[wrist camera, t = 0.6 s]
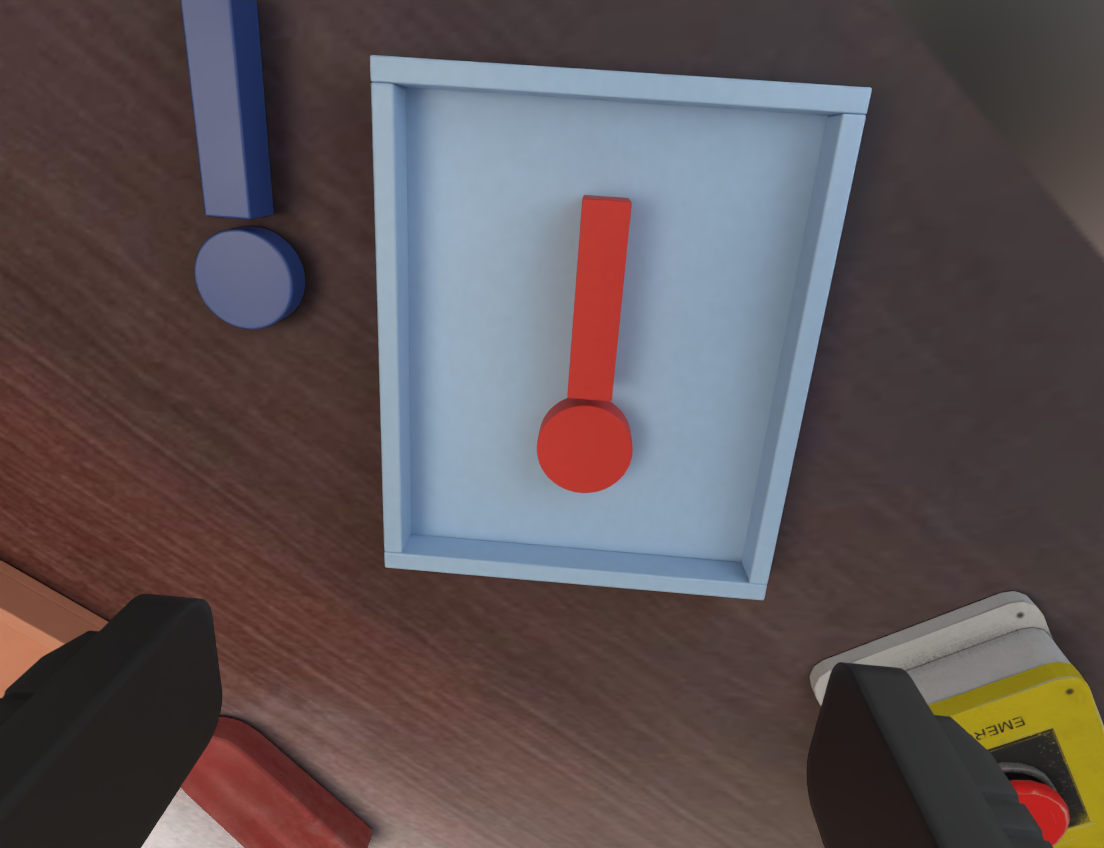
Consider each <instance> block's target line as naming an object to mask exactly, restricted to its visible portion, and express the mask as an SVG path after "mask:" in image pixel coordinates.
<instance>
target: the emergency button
mask: <svg viewBox="0 0 1104 848" xmlns="http://www.w3.org/2000/svg"><path fill="white" fill-rule="evenodd" d="M839 662H844V663H855V664H865V665H876V666H886V667H897V668H902V669H903V670H905V671H906V672H907V673H908V674H909V675H910V677H911V678H912V680H913V681H914V683H915V685H916V686H917V688H918V690H919V691H920V693H921V694H922V696H923V698H924V699H925V701H926V703H927V704H928V706H929V708H930V709H931V711H932V713H933V714H934V715H940V716H950V717H951V718H952V719H954V720H955V721H956V722H957V723H958V724H959V725H960V726H961V727H962V728H964V729H965V730H966V731H967V732H968V733H969V734H970V735H971V736H972V737H974V738H975V739H976V740H977V741H978V742H979V743H980V744H981V745H982V746H984V747H985V748H986V749H987V750H988V751H989V752H990V753H991V754H992V756H993V757H994V759H995V760H996V762H997V763H998V765H999V766H1000V768H1001V769H1002V771H1003V772H1004V774H1005V775H1006V777H1007V778H1008V780H1009V781H1010V783H1011V784H1012V786H1013V787H1014V789H1015V790H1016V792H1017V793H1018V795H1019V796H1018V799H1019V802H1020V803H1022V804H1025V805H1026V807H1027V808H1028V810H1029V811H1030V813H1031V814H1032V816H1033V817H1034V819H1035V820H1036V822H1037V823H1038V825H1039V827H1040V828H1041V830H1042V831H1043V833H1042V835H1043V839H1044V840H1045V841H1049V842H1050V843H1051V845H1052V846H1053V848H1104V725H1103V723H1102V720H1101V717H1100V715H1099V712H1098V709H1097V707H1096V704H1095V701H1094V699H1093V696H1092V693H1091V690H1090V688H1089V686H1088V684H1087V683H1086V682H1085V680H1084V679H1083V677H1082V676H1081V674H1080V673H1079V672H1078V670H1077V669H1076V668H1075V667H1074V666H1073V665H1072V664H1071V663H1070V662H1069V661H1068V659H1067V658H1066V657H1065V655H1064V654H1063V653H1062V651H1061V650H1060V649H1059V648H1058V646H1057V645H1056V644H1055V642H1054V641H1053V639H1052V636H1051V634H1050V631H1049V628H1048V626H1047V623H1046V621H1045V618H1044V615H1043V614H1042V613H1041V612H1040V610H1039V609H1038V608H1037V606H1036V605H1035V604H1034V603H1033V602H1032V601H1031V600H1030V599H1029V598H1028V596H1027V595H1024V594H1021V593H1019V592H1016V591H1010V592H1003V593H999V594H997V595H994V596H991V597H989V598H986V599H983V600H981V601H978V602H975V603H973V604H970V605H967V606H965V607H962V608H960V609H957V610H954V611H952V612H949V613H946V614H944V615H941V616H938V617H936V618H933V619H931V620H928V621H925V622H923V623H920V624H917V625H915V626H912V627H909V628H907V629H904V630H902V631H899V632H896V633H894V634H891V635H888V636H886V637H883V638H880V639H878V640H875V641H872V642H870V643H867V644H865V645H862V646H859V647H857V648H854V649H851V650H849V651H846V652H843V653H841V654H838V655H836V656H833V657H830V658H828V659H825V660H823V661H821V662H820V663H818V664H817V665H816V666H814V667H813V669H812V672H811V674H810V676H809V677H810V682H811V687H812V689H813V691H814V694H815V696H816V698H817V700H818V702H819V704H820V706H821V705H822V702H823V698H824V695H825V691H826V687H827V684H828V680H829V676H830V673H831V671H832V669H833V667H834V666H835V665H836V664H837V663H839Z"/></svg>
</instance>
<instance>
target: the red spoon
mask: <svg viewBox="0 0 1104 848" xmlns="http://www.w3.org/2000/svg"><path fill="white" fill-rule="evenodd" d="M631 207H632V202H631V201H630V199H629V198H621V197H607V196H593V195H584V196H583V199H582V209H581V222H580V235H579V248H578V261H577V274H576V287H575V300H574V313H573V327H572V340H571V353H570V366H569V379H568V392H567V397H568V398H566V399H564V400H562V401H560V402H558V403H557V404H556V405H554V406H553V407H552V408H551V409H550V410H549V411H548V412H547V414H546V415H545V417H544V419H543V421H542V423H541V426H540V430H539V435H538V440H537V457H538V460H539V464H540V466H541V468H542V470H543V471H544V473H545V474H546V475H547V477H548V478H549V479H550V480H551V481H553V482H554V483H555V484H557V485H558V486H560V487H562V488H564V489H566V490H569V491H572V492H577V493H593V492H598V491H601V490H604V489H606V488H608V487H610V486H612V485H613V484H615V483H616V482H617V481H619V480H620V479H621V478H622V476H623V475H624V474H625V472H626V471H627V469H628V467H629V465H630V463H631V460H632V454H633V445H632V437H631V430H630V426H629V423H628V421H627V419H626V417H625V415H624V414H623V413H622V411H621V410H620V409H619V408H618V407H617V406H615V405H614V404H613V403H611V402H610V401H612V394H613V385H614V375H615V365H616V355H617V345H618V335H619V325H620V316H621V306H622V296H623V286H624V276H625V266H626V257H627V247H628V237H629V227H630V217H631Z"/></svg>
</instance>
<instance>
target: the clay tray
mask: <svg viewBox="0 0 1104 848" xmlns="http://www.w3.org/2000/svg"><path fill="white" fill-rule="evenodd" d="M107 623H108V621H106V620H104V619H103V618H101V617H99V616H97V615H96V614H94V613H92V612H90V611H89V610H87V609H85V608H83V607H82V606H80V605H78V604H76V603H75V602H73V601H71V600H69V599H68V598H66V597H64V596H62V595H61V594H59V593H57V592H55V591H54V590H52V589H50V588H48V587H47V586H45V585H43V584H41V583H40V582H38V581H36V580H34V579H33V578H31V577H29V576H27V575H26V574H24V573H22V572H20V571H19V570H17V569H15V568H13V567H12V566H10V565H8V564H6V563H5V562H3V561H1V560H0V698H2V697H3V696H4V694H5V690H6V689H7V688H8V687H9V686H11V685H12V684H13V683H14V682H15V681H16V680H17V679H18V678H19V677H20V676H22V675H23V674H24V673H25V672H26V671H27V670H28V669H29V668H30V667H31V666H33V665H34V664H35V663H36V662H37V661H38V660H39V659H40V658H41V657H43V656H44V655H46V654H48V653H50V652H52V651H53V650H55V649H57V648H59V647H60V646H62V645H64V644H66V643H68V642H69V641H71V640H73V639H75V638H76V637H78V636H80V635H82V634H84V633H85V632H87V631H89V630H90V631H100V630H101V629H102V628H103V627H104V626H105V625H106V624H107Z"/></svg>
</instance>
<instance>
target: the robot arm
mask: <svg viewBox="0 0 1104 848" xmlns="http://www.w3.org/2000/svg"><path fill="white" fill-rule="evenodd" d="M221 706H222V686H221V679H220V671H219V663H218V656H217V648H216V641H215V633H214V625H213V618H212V612H211V608H210V606H209V604H208V603H207V602H206V601H205V600H203V599H197V598H186V597H176V596H165V595H155V594H141V595H139V596H137V597H135V598H134V599H132V600H131V601H130V602H129V603H128V604H127V605H126V606H125V607H124V608H123V609H122V610H121V611H120V612H119V613H118V614H117V615H116V616H114V617H113V618H112V619H111V620H110V621H109V622H108V623H107V624H106V625H105V626H104V627H103V628H102V629H101V630H100V631H90V630H89V631H87V632H85V633H84V634H82V635H80V636H78V637H76V638H75V639H73V640H71V641H69V642H68V643H66V644H64V645H62V646H60V647H59V648H57V649H55V650H53V651H52V652H50V653H48V654H46V655H44V656H43V657H41V658H40V659H39V660H38V661H37V662H36V663H35V664H34V665H33V666H31V667H30V668H29V669H28V670H27V671H26V672H25V673H24V674H23V675H22V676H20V677H19V678H18V679H17V680H16V681H15V682H14V683H13V684H12V685H11V686H9V687H8V688H7V689H6V690H5V694H4V696H3V697H2V698H0V848H141V847H142V845H143V844H144V842H145V841H146V839H147V838H148V836H149V834H150V833H151V831H152V830H153V828H154V827H155V825H156V824H157V822H158V821H159V819H160V818H161V816H162V815H163V813H164V812H165V810H166V808H167V807H168V805H169V804H170V802H171V801H172V799H173V798H174V796H175V795H176V793H177V792H178V790H179V789H180V787H181V786H182V784H183V782H184V781H185V779H186V778H187V776H188V775H189V773H190V772H191V770H192V769H193V767H194V766H195V764H196V763H197V761H198V760H199V758H200V756H201V755H202V753H203V752H204V750H205V749H206V747H207V746H208V744H209V742H210V740H211V738H212V736H213V734H214V732H215V729H216V726H217V723H218V720H219V716H220V712H221ZM807 786H808V794H809V799H810V804H811V807H812V811H813V814H814V817H815V820H816V823H817V826H818V829H819V832H820V835H821V838H822V841H823V844H824V847H825V848H1053V846H1052V845H1051V843H1050V842H1049V841H1045V840H1044V839H1043V835H1042V833H1043V831H1042V830H1041V828H1040V827H1039V825H1038V823H1037V822H1036V820H1035V819H1034V817H1033V816H1032V814H1031V813H1030V811H1029V810H1028V808H1027V807H1026V805H1025V804H1022V803H1020V802H1019V799H1018V796H1019V795H1018V793H1017V792H1016V790H1015V789H1014V787H1013V786H1012V784H1011V783H1010V781H1009V780H1008V778H1007V777H1006V775H1005V774H1004V772H1003V771H1002V769H1001V768H1000V766H999V765H998V763H997V762H996V760H995V759H994V757H993V756H992V754H991V753H990V752H989V751H988V750H987V749H986V748H985V747H984V746H982V745H981V744H980V743H979V742H978V741H977V740H976V739H975V738H974V737H972V736H971V735H970V734H969V733H968V732H967V731H966V730H965V729H964V728H962V727H961V726H960V725H959V724H958V723H957V722H956V721H955V720H954V719H952V718H951V717H950V716H940V715H934V714H933V713H932V711H931V709H930V708H929V706H928V704H927V703H926V701H925V699H924V698H923V696H922V694H921V693H920V691H919V690H918V688H917V686H916V685H915V683H914V681H913V680H912V678H911V677H910V675H909V674H908V673H907V672H906V671H905V670H903V669H902V668H897V667H886V666H876V665H865V664H855V663H844V662H839V663H837V664H836V665H835V666H834V667H833V669H832V671H831V673H830V676H829V680H828V684H827V687H826V691H825V695H824V698H823V702H822V705H821V709H820V713H819V716H818V720H817V724H816V727H815V731H814V735H813V738H812V742H811V745H810V749H809V753H808V760H807Z"/></svg>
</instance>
